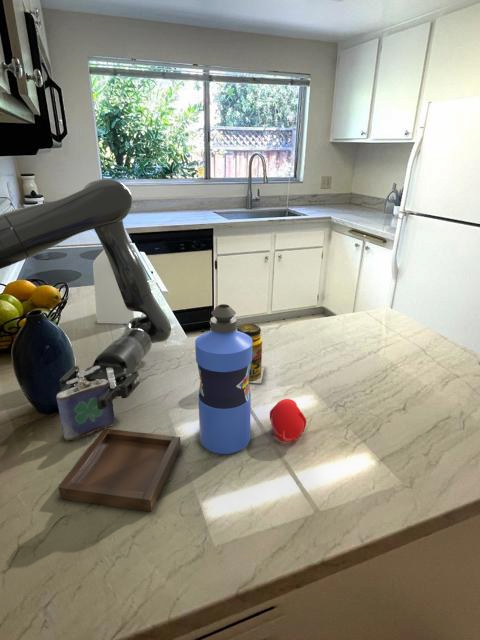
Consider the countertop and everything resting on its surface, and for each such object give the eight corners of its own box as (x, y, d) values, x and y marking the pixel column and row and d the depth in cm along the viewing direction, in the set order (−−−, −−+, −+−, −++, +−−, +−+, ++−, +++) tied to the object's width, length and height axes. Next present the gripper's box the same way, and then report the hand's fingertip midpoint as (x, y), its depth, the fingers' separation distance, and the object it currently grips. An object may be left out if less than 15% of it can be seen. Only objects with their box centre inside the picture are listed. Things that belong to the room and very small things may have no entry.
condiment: (261, 384, 89) (262, 334, 85) (223, 380, 91) (223, 332, 86) (264, 368, 96) (265, 322, 92) (229, 365, 97) (229, 319, 93)
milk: (110, 309, 133) (101, 230, 124) (144, 310, 133) (138, 230, 123) (97, 323, 122) (85, 237, 112) (134, 323, 122) (126, 237, 112)
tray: (60, 498, 59) (58, 487, 58) (105, 438, 72) (103, 428, 71) (151, 512, 57) (150, 500, 56) (180, 447, 70) (180, 436, 69)
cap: (310, 445, 70) (312, 416, 68) (277, 449, 69) (278, 420, 67) (296, 418, 78) (298, 391, 75) (266, 421, 77) (267, 394, 74)
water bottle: (193, 451, 69) (186, 315, 59) (205, 419, 77) (201, 295, 68) (247, 457, 67) (249, 318, 58) (253, 423, 76) (255, 298, 67)
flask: (66, 443, 70) (55, 389, 67) (62, 434, 73) (51, 382, 69) (117, 424, 76) (110, 373, 72) (112, 416, 78) (104, 367, 74)
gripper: (86, 341, 84) (37, 380, 69) (151, 345, 82) (115, 388, 67) (91, 372, 87) (45, 417, 72) (154, 378, 85) (120, 425, 70)
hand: (79, 403), depth 70 cm, fingers closed on flask, 7 cm apart
